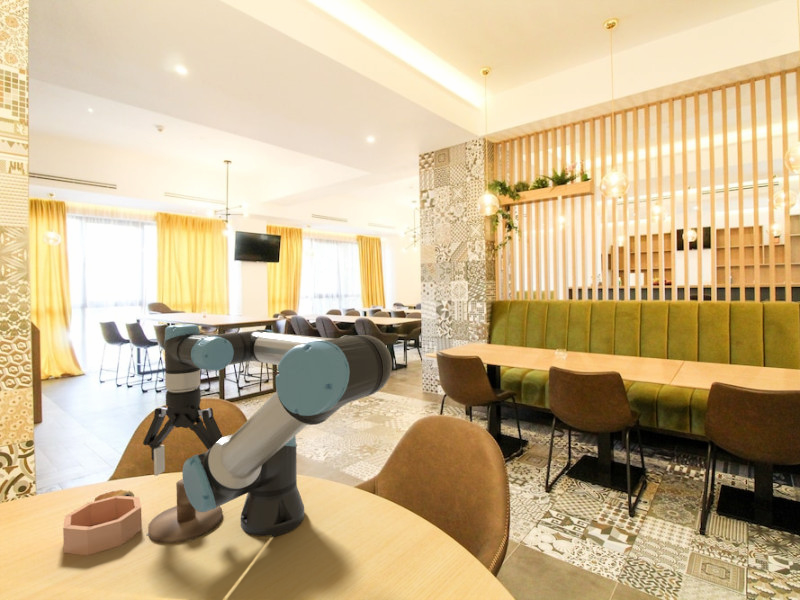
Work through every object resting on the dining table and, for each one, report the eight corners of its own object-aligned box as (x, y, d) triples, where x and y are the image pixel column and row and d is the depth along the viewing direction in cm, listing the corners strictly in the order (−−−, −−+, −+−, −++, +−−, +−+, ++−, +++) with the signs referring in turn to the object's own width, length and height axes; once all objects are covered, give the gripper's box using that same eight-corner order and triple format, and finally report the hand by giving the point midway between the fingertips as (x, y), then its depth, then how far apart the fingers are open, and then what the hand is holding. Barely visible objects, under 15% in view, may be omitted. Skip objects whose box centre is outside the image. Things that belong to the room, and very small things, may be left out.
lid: (234, 508, 109) (234, 469, 108) (195, 545, 93) (194, 500, 93) (178, 503, 111) (177, 465, 111) (131, 539, 95) (130, 495, 95)
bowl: (154, 522, 103) (154, 498, 103) (105, 559, 89) (104, 531, 89) (103, 517, 106) (102, 494, 105) (47, 553, 91) (46, 526, 91)
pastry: (86, 509, 110) (86, 495, 110) (108, 497, 117) (108, 483, 117) (117, 513, 108) (116, 498, 108) (137, 500, 115) (137, 486, 115)
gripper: (239, 386, 103) (240, 471, 104) (148, 383, 107) (150, 465, 107) (222, 394, 96) (223, 485, 96) (125, 390, 99) (127, 478, 100)
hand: (184, 475), depth 102 cm, fingers open, 13 cm apart
